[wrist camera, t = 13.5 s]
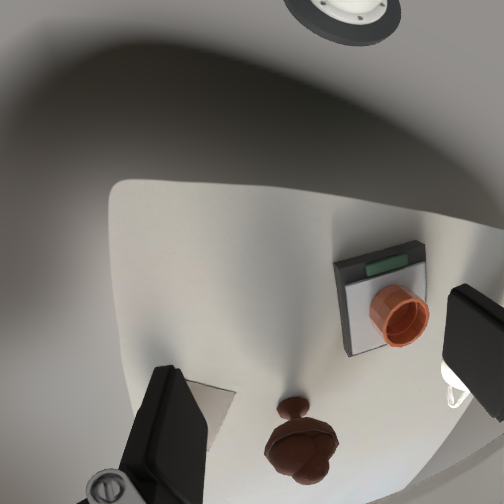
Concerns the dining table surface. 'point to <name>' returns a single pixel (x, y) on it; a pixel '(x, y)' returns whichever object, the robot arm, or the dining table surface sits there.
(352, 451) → the dining table surface
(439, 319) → the dining table surface
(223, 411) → the platform
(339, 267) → the scale
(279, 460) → the ice cream bowl
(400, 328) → the dip bowl
